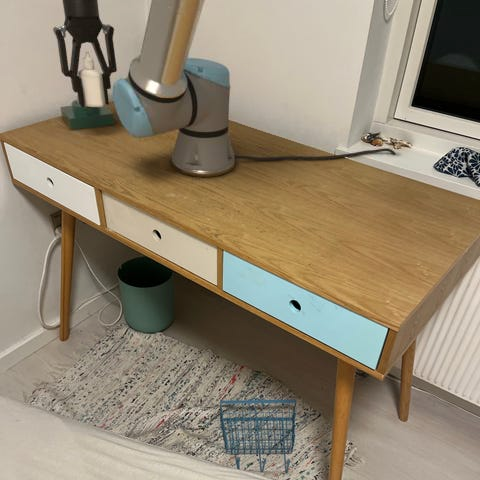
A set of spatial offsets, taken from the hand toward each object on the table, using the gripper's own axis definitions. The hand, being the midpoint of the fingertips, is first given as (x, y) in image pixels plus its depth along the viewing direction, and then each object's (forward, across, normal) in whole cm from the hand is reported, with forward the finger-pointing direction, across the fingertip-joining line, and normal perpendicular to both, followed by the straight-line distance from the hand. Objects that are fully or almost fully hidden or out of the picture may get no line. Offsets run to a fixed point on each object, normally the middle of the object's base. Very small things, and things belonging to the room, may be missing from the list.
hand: (94, 103), depth 126 cm
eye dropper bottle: (0, 0, 0) cm, 0 cm away
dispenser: (+9, -1, -14) cm, 17 cm away
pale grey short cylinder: (+4, -1, -14) cm, 15 cm away
